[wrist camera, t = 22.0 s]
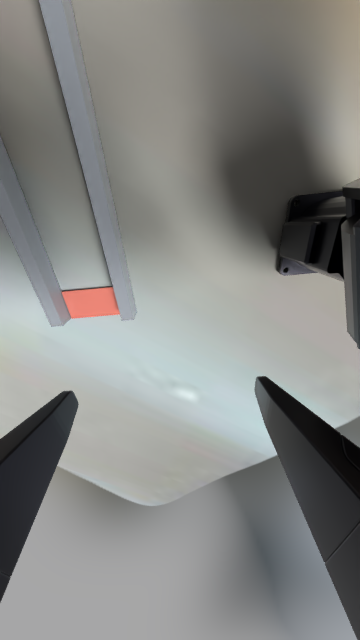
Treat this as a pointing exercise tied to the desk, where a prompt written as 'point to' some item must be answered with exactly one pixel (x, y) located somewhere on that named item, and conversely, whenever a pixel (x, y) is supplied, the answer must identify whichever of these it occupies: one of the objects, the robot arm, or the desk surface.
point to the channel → (9, 202)
